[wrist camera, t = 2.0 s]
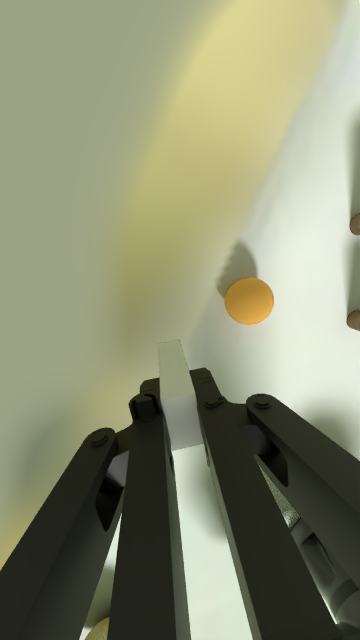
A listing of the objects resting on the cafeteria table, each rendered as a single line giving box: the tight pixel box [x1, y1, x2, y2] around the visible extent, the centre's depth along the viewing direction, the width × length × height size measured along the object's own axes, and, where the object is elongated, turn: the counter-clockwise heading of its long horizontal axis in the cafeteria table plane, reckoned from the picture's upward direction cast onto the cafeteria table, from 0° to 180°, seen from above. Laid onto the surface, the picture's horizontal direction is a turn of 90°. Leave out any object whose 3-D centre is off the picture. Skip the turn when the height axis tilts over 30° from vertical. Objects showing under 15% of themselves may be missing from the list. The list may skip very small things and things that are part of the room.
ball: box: [225, 278, 274, 325], centre depth 28 cm, size 6×6×6 cm
